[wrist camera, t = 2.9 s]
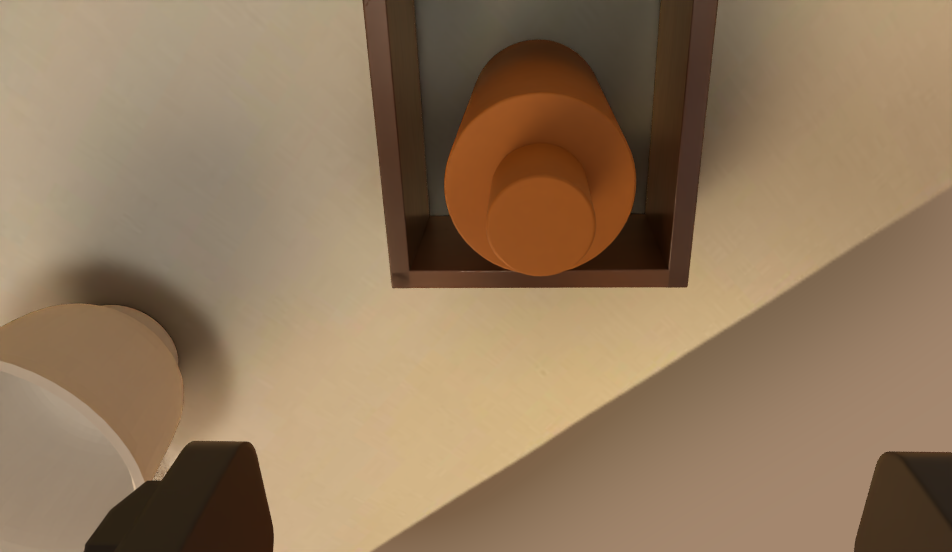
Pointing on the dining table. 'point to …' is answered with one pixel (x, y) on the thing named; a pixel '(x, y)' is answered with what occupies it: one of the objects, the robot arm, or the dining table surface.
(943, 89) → the dining table surface
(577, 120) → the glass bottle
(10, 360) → the teacup
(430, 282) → the crate
